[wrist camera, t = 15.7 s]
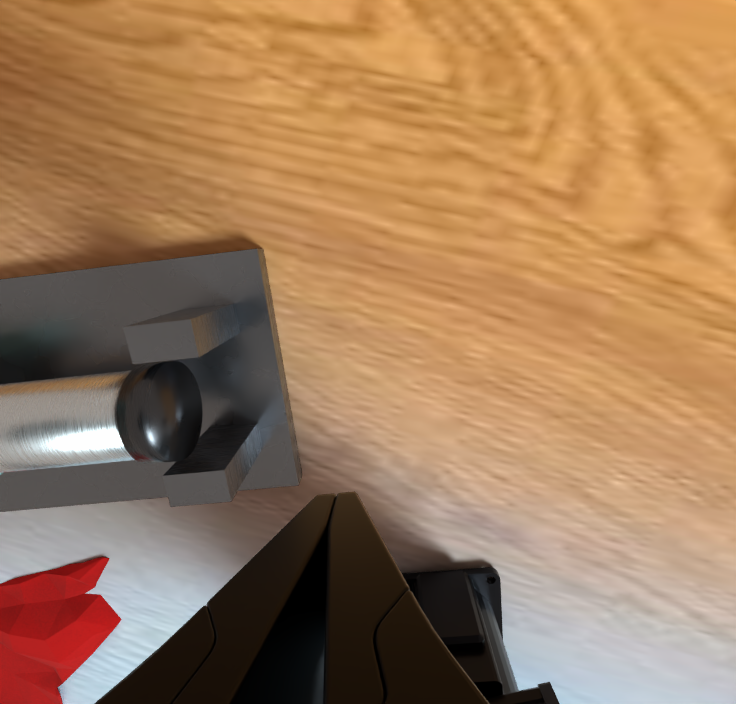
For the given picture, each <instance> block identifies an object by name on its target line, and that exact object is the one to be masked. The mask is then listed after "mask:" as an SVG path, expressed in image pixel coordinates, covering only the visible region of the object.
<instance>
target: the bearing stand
mask: <svg viewBox="0 0 736 704" xmlns="http://www.w3.org/2000/svg"><path fill="white" fill-rule="evenodd" d="M169 361H178V362H181V363H183V364H185V365H186V366H187V367H188V368H189V369H190V370H191V372H192V373H193V375H194V377H195V379H196V381H197V384H198V387H199V390H200V394H201V399H202V410H203V417H202V427H201V433H200V436H199V440H198V442H197V445H196V447H195V449H194V450H193V452H192V453H191V454H190V455H189V456H188V457H187V458H186V459H184V460H182V461H175V462H164V463H154V464H143V463H140V462H138V461H136V460H130V461H120V462H109V463H98V464H88V465H77V466H66V467H56V468H45V469H35V470H24V471H13V472H3V474H1V475H0V512H5V511H16V510H27V509H39V508H50V507H61V506H72V505H83V504H95V503H106V502H117V501H128V500H140V499H151V498H162V497H168V499H169V502H170V506H171V507H175V506H186V505H197V504H209V503H220V502H231V501H232V499H233V498H234V496H235V494H236V493H237V491H241V490H252V489H263V488H274V487H286V486H297V485H299V483H300V480H301V477H302V471H301V465H300V459H299V453H298V448H297V442H296V436H295V430H294V424H293V418H292V413H291V407H290V401H289V395H288V389H287V384H286V378H285V372H284V366H283V360H282V354H281V349H280V343H279V337H278V331H277V325H276V320H275V314H274V308H273V302H272V296H271V291H270V285H269V279H268V273H267V267H266V261H265V256H264V250H263V249H250V250H242V251H234V252H225V253H217V254H209V255H200V256H192V257H184V258H175V259H167V260H159V261H151V262H142V263H134V264H126V265H117V266H109V267H101V268H92V269H84V270H76V271H67V272H59V273H51V274H42V275H34V276H26V277H17V278H9V279H1V280H0V384H8V383H18V382H27V381H37V380H46V379H56V378H65V377H74V376H84V375H93V374H103V373H112V372H122V371H131V370H133V369H134V368H135V367H137V366H139V365H142V364H150V363H160V362H169Z"/></svg>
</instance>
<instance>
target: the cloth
mask: <svg viewBox="0 0 736 704" xmlns="http://www.w3.org/2000/svg"><path fill="white" fill-rule="evenodd" d="M108 561H109V558H105V557H99V558H95V559H91V560H88V561H86V562H84V563H74V564H69V565H66V566H63V567H60V568H57V569H52V570H48V571H43V572H39V573H35V574H31V575H27V576H22V577H18V578H14V579H12V580H9V581H7V582H4V583H2V584H0V704H63V703H62V700H61V696H60V693H59V691H58V689H57V687H59V686H60V685H61V684H62V683H64V682H65V681H66V680H67V679H68V678H69V677H70V676H71V675H72V674H73V673H74V672H75V671H76V670H77V669H78V668H79V667H80V666H81V665H82V664H83V663H84V662H85V661H86V660H87V659H88V658H89V657H90V656H91V655H92V654H93V653H94V652H95V650H96V649H97V648H98V647H99V646H100V645H101V643H102V642H103V641H104V640H105V639H106V638H107V637H108V635H109V634H110V633H111V632H112V631H113V630H114V629H115V627H116V626H117V625H118V623H119V622H120V620H121V618H120V617H119V616H118V615H117V614H116V612H115V611H114V610H113V609H112V608H111V606H110V605H109V604H108V603H107V602H106V601H105V600H104V598H103V597H102V596H101V595H97V594H85V593H86V592H88V591H90V590H91V589H93V588H94V587H95V586H96V583H97V581H98V579H99V577H100V575H101V574H102V572H103V570H104V568H105V566H106V564H107V562H108Z"/></svg>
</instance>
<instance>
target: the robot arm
mask: <svg viewBox="0 0 736 704" xmlns="http://www.w3.org/2000/svg"><path fill="white" fill-rule="evenodd" d="M488 577H492V578H490V579H489V578H488ZM95 704H559V702H558V699H557V697H556V695H555V693H554V690H553V688H552V686H551V684H550V682H547V683H542V684H538V687H536V688H531V689H526V690H521V691H519V690H518V687H517V684H516V680H515V677H514V674H513V671H512V668H511V665H510V662H509V659H508V655H507V652H506V649H505V646H504V643H503V634H502V610H501V586H500V577H499V574H498V572H497V570H496V569H494V568H490V567H488V568H475V569H462V570H449V571H436V572H423V573H410V574H401V572H400V570H399V568H398V566H397V565H396V563H395V561H394V559H393V557H392V556H391V554H390V552H389V550H388V548H387V547H386V545H385V543H384V541H383V539H382V538H381V536H380V534H379V532H378V530H377V529H376V527H375V525H374V523H373V521H372V520H371V518H370V516H369V514H368V512H367V511H366V509H365V507H364V505H363V503H362V502H361V500H360V498H359V496H358V494H357V493H356V492H345V493H339V494H337V496H336V494H322V495H317V496H316V497H315V498H314V499H313V500H312V501H311V502H310V503H309V504H308V505H307V506H306V507H305V508H304V509H302V510H301V511H300V512H299V513H298V514H297V515H296V516H295V517H294V518H293V519H292V520H291V521H290V522H289V523H288V524H287V525H286V526H285V527H284V528H283V529H282V530H281V531H280V532H279V533H278V534H277V535H276V536H275V537H274V538H273V539H272V540H271V541H270V542H269V543H268V544H267V545H266V546H265V547H264V548H263V549H262V550H260V551H259V552H258V553H257V554H256V555H255V556H254V557H253V558H252V559H251V560H250V561H249V562H248V563H247V564H246V565H245V566H244V567H243V568H242V569H241V570H240V571H239V572H238V573H237V574H236V575H235V576H234V577H233V578H232V579H231V580H230V581H229V582H228V583H227V584H226V585H225V586H224V587H223V588H222V589H221V590H219V591H218V592H217V593H216V594H215V595H214V596H213V597H212V598H211V599H210V600H209V601H208V602H207V606H203V607H202V608H201V609H200V610H199V611H198V612H197V613H196V614H195V615H194V616H193V617H192V618H191V619H190V620H189V621H188V622H186V623H185V624H184V625H183V626H182V627H181V628H180V629H179V630H178V631H177V632H176V633H175V634H174V635H173V636H172V637H170V638H169V639H168V640H167V641H166V642H165V643H164V644H163V645H162V646H161V647H160V648H159V649H157V650H156V651H155V652H154V653H153V654H152V655H151V656H149V657H148V658H147V659H146V660H145V661H144V662H143V663H141V664H140V665H139V666H138V667H137V668H136V669H135V670H133V671H132V672H131V673H130V674H129V675H128V676H126V677H125V678H124V679H123V680H122V681H121V682H119V683H118V684H117V685H116V686H115V687H113V688H112V689H111V690H110V691H109V692H108V693H106V694H105V695H104V696H103V697H102V698H100V699H99V700H98V701H97V702H96V703H95Z"/></svg>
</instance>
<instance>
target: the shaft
mask: <svg viewBox="0 0 736 704" xmlns="http://www.w3.org/2000/svg"><path fill="white" fill-rule="evenodd" d="M202 417H203V410H202V399H201V394H200V390H199V387H198V384H197V381H196V379H195V377H194V375H193V373H192V372H191V370H190V369H189V368H188V367H187V366H186V365H185V364H183V363H181V362H178V361H169V362H160V363H150V364H142V365H139V366H137V367H135V368H134V369H133V370H131V371H122V372H112V373H103V374H93V375H84V376H74V377H65V378H56V379H46V380H37V381H27V382H18V383H8V384H0V473H3V472H13V471H24V470H35V469H45V468H56V467H66V466H77V465H88V464H98V463H109V462H120V461H130V460H136V461H138V462H140V463H143V464H154V463H164V462H175V461H182V460H184V459H186V458H187V457H188V456H189V455H190V454H191V453H192V452H193V450H194V449H195V447H196V445H197V442H198V440H199V436H200V433H201V427H202Z"/></svg>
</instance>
